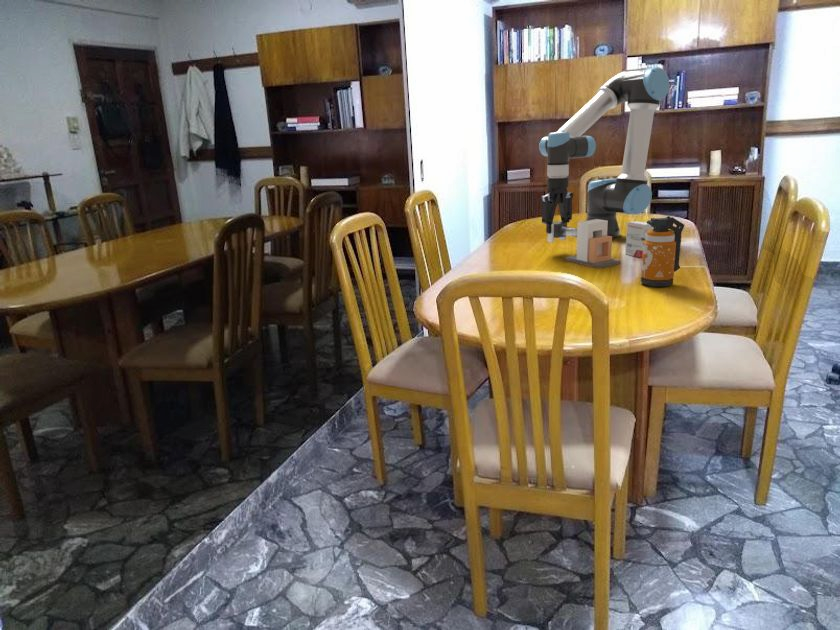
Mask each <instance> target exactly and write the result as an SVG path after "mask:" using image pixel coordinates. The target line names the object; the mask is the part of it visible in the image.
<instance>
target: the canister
mask: <svg viewBox="0 0 840 630" xmlns="http://www.w3.org/2000/svg"><path fill="white" fill-rule="evenodd" d="M646 223H647V224H650V225H651V227H654V229H652V230H648V231H647V233H646V239H645V241H644V242H643V254H642V258H641V273H640V276H641V277H640V282H641V284H643V285H644V284H645V286H648V287H651V288H653V287H654V288H665V287H668V286H671V285H673V283H674V276H675V272H676V271H678V270H680V269H681V266H680V255H681V254H680V253H681V243H682V232H683V230H684V228H685V227H686V225H685V224H684V223H682V222H681V221H679V220H678V219H677V218H674V217H673V216H672V217H671V216H670V215H668V216H666V217H659V218H655V217H651V218H650V220H646ZM674 225H675V226H674Z"/></svg>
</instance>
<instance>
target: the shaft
mask: <svg viewBox="0 0 840 630" xmlns="http://www.w3.org/2000/svg"><path fill="white" fill-rule="evenodd" d="M552 224H553V225H554V239H559V237H565V236H566V237H573V238H577V228H575V227H571V226H570V227H569V226H568V222H567V223H566V222H562V221H561V220H560V221H559V220H556V221H553V223H552ZM595 237H596V233H595V232H593V238H595Z"/></svg>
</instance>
